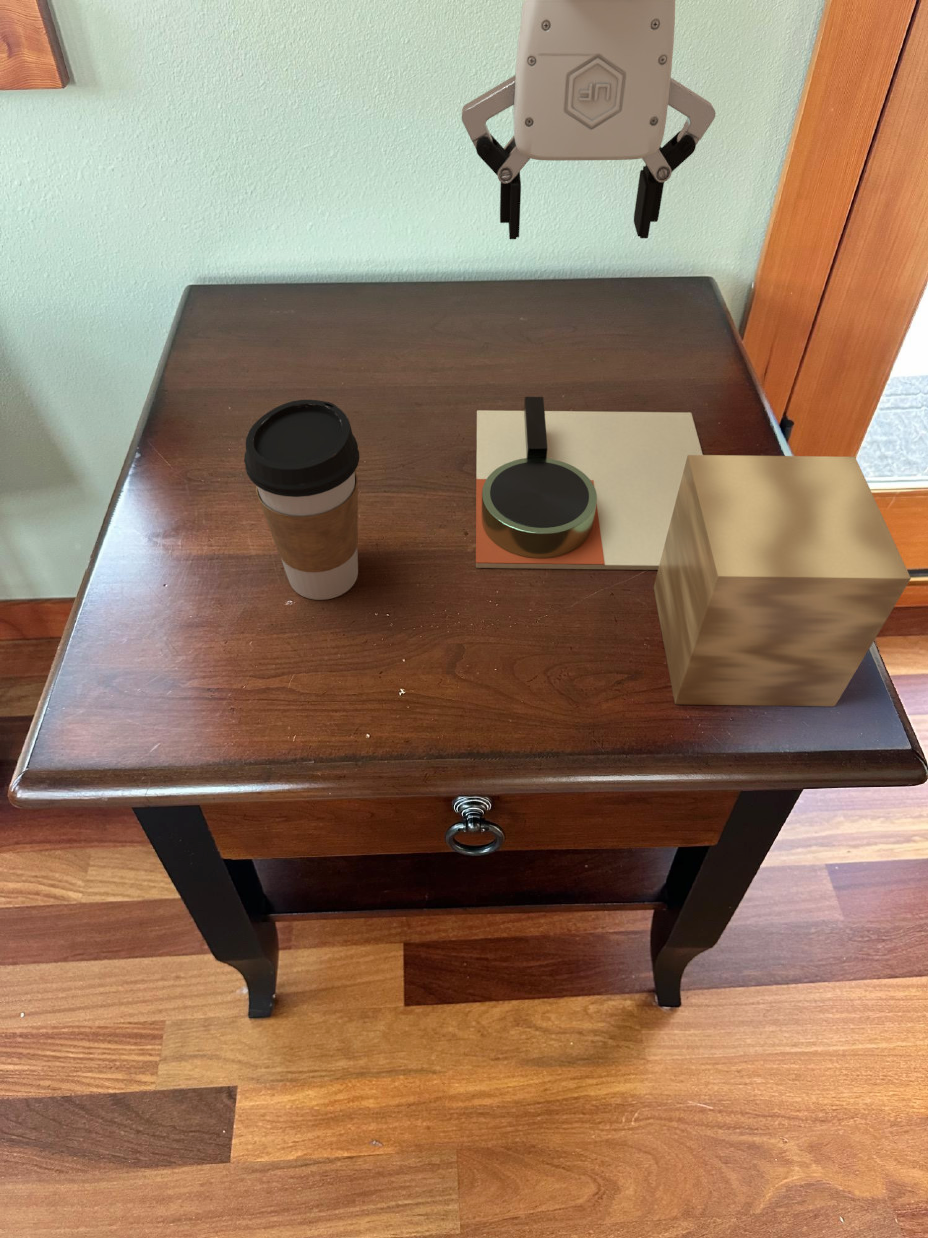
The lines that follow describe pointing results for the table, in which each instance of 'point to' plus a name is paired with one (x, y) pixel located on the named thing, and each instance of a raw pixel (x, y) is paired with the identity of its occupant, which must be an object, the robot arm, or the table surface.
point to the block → (773, 579)
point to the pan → (538, 498)
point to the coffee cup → (308, 493)
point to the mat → (598, 480)
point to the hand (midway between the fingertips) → (576, 230)
